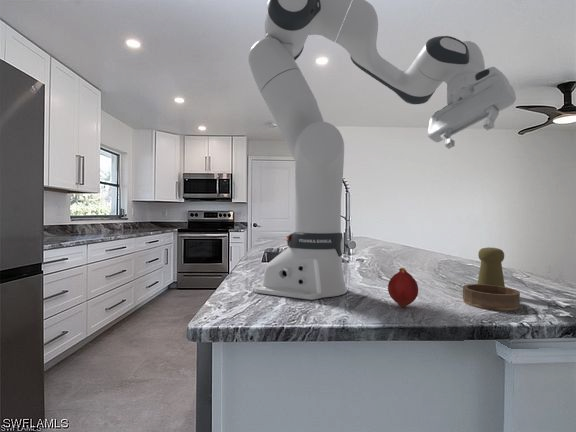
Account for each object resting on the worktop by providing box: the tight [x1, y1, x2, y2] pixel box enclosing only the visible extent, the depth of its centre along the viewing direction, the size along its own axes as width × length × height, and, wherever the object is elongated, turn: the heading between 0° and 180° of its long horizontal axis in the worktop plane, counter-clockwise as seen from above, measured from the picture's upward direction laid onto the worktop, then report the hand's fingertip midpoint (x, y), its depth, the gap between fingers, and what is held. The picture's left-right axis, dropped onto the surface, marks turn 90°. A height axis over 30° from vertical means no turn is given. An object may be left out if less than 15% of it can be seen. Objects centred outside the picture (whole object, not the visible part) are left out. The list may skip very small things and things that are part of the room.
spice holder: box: [462, 283, 521, 312], centre depth 68 cm, size 10×10×3 cm
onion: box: [387, 267, 419, 308], centre depth 66 cm, size 6×6×8 cm
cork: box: [477, 246, 506, 287], centre depth 77 cm, size 6×6×11 cm
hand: (468, 137), depth 76 cm, fingers open, 8 cm apart
